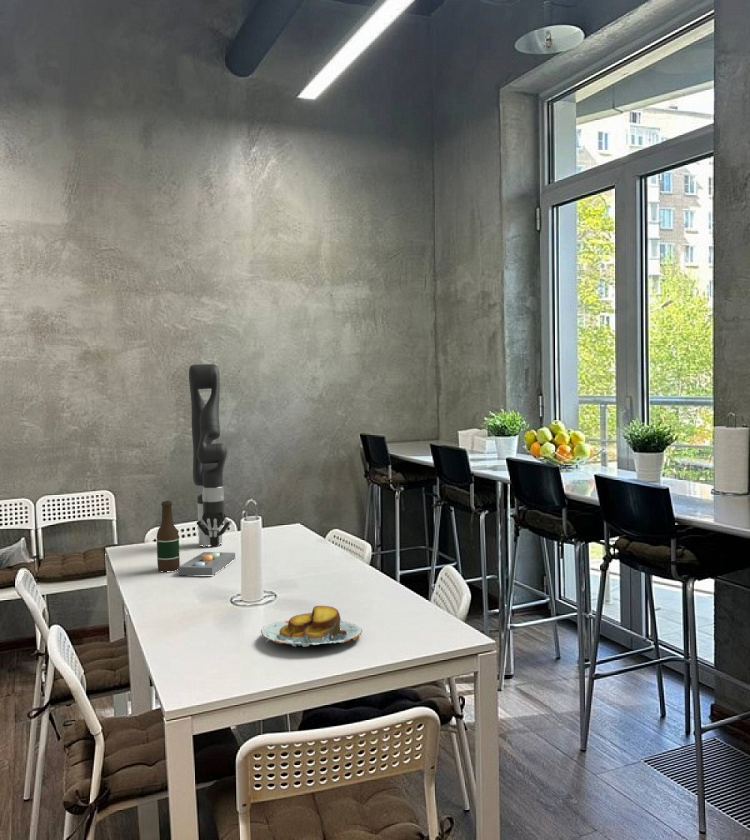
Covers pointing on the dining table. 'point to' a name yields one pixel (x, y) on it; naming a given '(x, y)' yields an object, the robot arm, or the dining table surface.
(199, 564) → the blue button
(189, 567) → the button panel
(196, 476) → the robot arm
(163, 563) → the beer bottle
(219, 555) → the sage button
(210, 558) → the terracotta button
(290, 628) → the food on plate
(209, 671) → the dining table surface
